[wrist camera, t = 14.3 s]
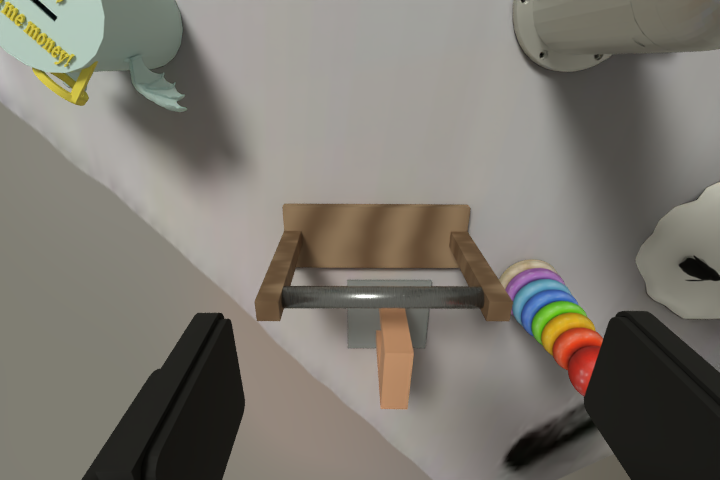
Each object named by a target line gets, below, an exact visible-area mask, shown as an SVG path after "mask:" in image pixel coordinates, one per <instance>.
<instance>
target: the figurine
mask: <svg viewBox="0 0 720 480" xmlns="http://www.w3.org/2000/svg"><path fill="white" fill-rule="evenodd" d="M635 262H636V264H637V267H638V269H639V271H640V273H641V275H642V277H643V278H644V280H645V284H646V290H647V294H648V295H649V296H650V297H651V298H652V299H653V300H654V301H657V302H659V303H661V304H663V305H665V306H667V307H668V308H669V309H670V310H671V311H673V312H674V313H675V314H677V315H679V316H680V317H682V318H684V319H719V318H720V182H718V183H716V184H714V185H712V186H709V187H707V188H706V189H705V191H704V192H703V193H702V194H701V196H700V197H699V198H698V199H697V200H696V201H693V202H689V203H686V204H682V205H679V206H676V207H674V208H673V209H672V210H671V211H670V212H669V213H667V214H666V215H665V216H664V217H663V218H661V219H660V220H659V222H658V224H657V226H656V228H655V229H654V232H653V234H652V235H651V236H650V237H649V238H648V239H647V240H646V241H645V242H644V243H643V244H642V246H641V247H640V249H639V252H638V254H637V256H636V259H635Z"/></svg>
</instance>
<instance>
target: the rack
mask: <svg viewBox="0 0 720 480" xmlns="http://www.w3.org/2000/svg"><path fill="white" fill-rule="evenodd" d="M469 215H470V207H469V206H468V205H438V204H284V205H283V220H284V233H283V235H282V238H281V240H280V242H279V245H278V247H277V249H276V252H275V254H274V257H273V259H272V261H271V264H270V266H269V268H268V271H267V273H266V276H265V278H264V280H263V283H262V285H261V287H260V290H259V292H258V295H257V297H256V299H255V309H256V317H257V321H280V320H281V316H282V313H283V309H284V308H395V309H481V311H482V313H483V315H484V317H485V319H486V321H509V320H510V315H511V310H512V305H513V301H512V299H511V298H510V296H509V295H508V293H507V292H506V290H505V289H504V287H503V286H502V284H501V283H500V281H499V279H498V278H497V276H496V275H495V273H494V272H493V270H492V269H491V267H490V266H489V264H488V263H487V261H486V259H485V258H484V256H483V255H482V253H481V252H480V250H479V249H478V247H477V246H476V244H475V243H474V241H473V240H472V238H471V236H470V235H469V233H468V232H467V230H468V223H469ZM296 267H323V268H460V269H461V271H462V273H463V275H464V277H465V279H466V281H467V283H468V285H469V287H458V286H290V285H291V282H292V278H293V275H294V272H295V268H296Z"/></svg>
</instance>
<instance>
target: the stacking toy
mask: <svg viewBox="0 0 720 480" xmlns="http://www.w3.org/2000/svg"><path fill="white" fill-rule="evenodd" d="M499 281H500V283H501V284H502V286H503V287H504V289H505V290H506V292H507V293H508V295H509V296H510V298H511V299H512V301H513V305H512V310H511V314H512V315H513V316H514V317H515V319H516V320H517V321H518V323H519V324H521V325H522V326H523V327H524V329H525V330H526V331H527V332H528V333H529V334H530V335H532V336H533V337H534V338H535V339H536V340H537V341H538V342H539V343H540V344H541V345H543V347H544V348H545V350H546V351H547V352H548V353H549V354H551V355H552V356H553V357H554V359H555V361H556V362H557V364H558V365H559V366H561V367H562V368H564V369H566V370H568V375H569V378H570V381H571V383H572V385H573V386H574V388H575V389H576V390H577V391H578V392H579V393H580V394H581V395H583V396H585V393H586V390H587V387H588V384H589V381H590V378H591V375H592V372H593V369H594V366H595V363H596V360H597V357H598V354H599V350H600V347H601V344H602V341H603V338H602V337H601V336H600V335H599V334H598V333H597V332H596V331H595V327H594V325H593V323H592V321H591V320H590V319H589V318H587V315H586V313H585V311H584V310H583V309H582V308H581V307H580V306H579V305H578V303H577V301H576V299H575V298H574V297H573V296H572V295H571V293H570V291H569V289H568V288H567V287H566V286H565V283H564V281H563V280H562V278H561V277H560V276H559V275H558V273H557V272H556V270H555V269H554V268H553V267H552V266H551V265H550V264H548V263H546V262H544V261H541V260H524V261H520V262H518V263H515V264H513V265H512V266H510V267H509V268H508V269H507V270H506V271H505V272H504V273H503V274H502V276H501V277H500V279H499Z"/></svg>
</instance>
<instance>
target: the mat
mask: <svg viewBox="0 0 720 480" xmlns="http://www.w3.org/2000/svg"><path fill="white" fill-rule="evenodd" d="M431 284H432V281H431V280H347V286H431ZM405 311H406V316H407V322H408V327H409V332H410V337H411V342H412V347H413V348H425V344H426V334H427V324H428V314H429V309H405ZM376 330H381V325H380V314H379V308H348V348H376Z"/></svg>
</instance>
